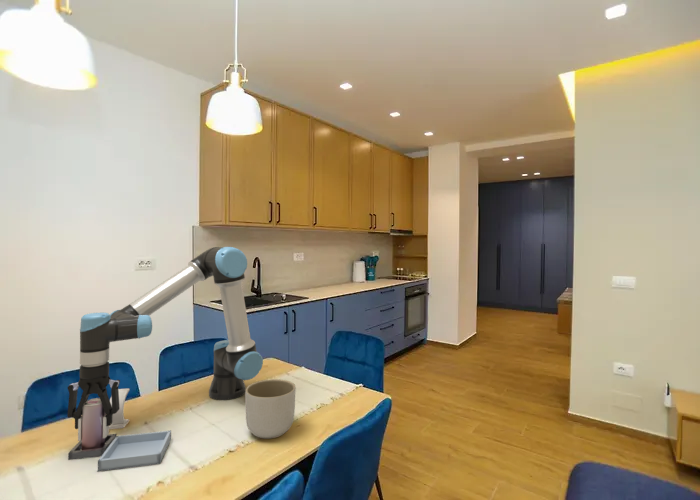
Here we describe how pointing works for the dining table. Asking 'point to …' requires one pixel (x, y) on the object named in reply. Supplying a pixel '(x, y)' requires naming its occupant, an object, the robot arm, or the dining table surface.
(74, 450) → the socket collar
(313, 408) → the dining table surface
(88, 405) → the beverage can
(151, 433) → the tray
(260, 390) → the planter
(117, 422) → the white curved strip
